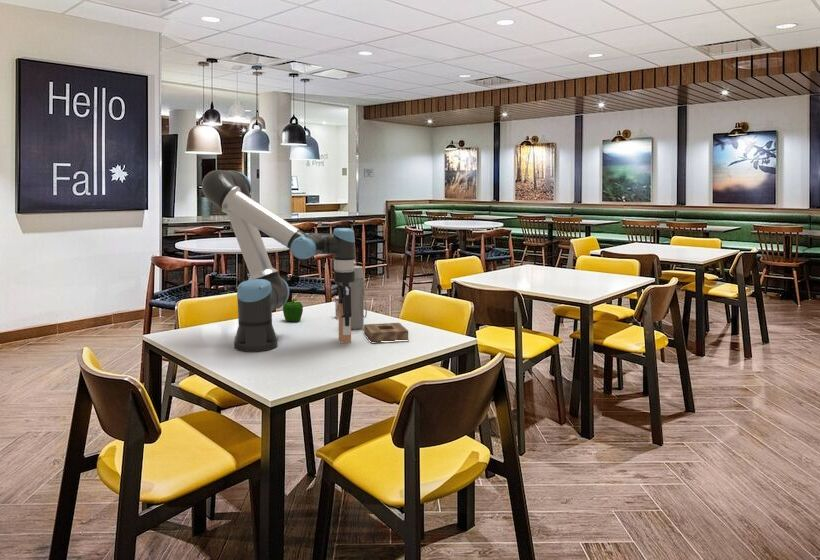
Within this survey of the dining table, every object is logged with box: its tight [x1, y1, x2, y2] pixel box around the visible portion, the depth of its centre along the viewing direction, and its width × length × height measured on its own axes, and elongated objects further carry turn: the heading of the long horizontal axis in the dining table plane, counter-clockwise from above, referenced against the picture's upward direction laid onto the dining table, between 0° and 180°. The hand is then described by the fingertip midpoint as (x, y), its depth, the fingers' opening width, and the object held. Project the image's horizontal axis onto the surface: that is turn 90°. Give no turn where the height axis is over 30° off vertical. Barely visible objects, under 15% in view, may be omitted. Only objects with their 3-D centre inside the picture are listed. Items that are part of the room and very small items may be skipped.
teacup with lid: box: [334, 295, 339, 320], centre depth 270 cm, size 12×9×12 cm
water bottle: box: [349, 265, 368, 330], centre depth 249 cm, size 9×8×25 cm
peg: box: [338, 304, 352, 343], centre depth 229 cm, size 4×4×14 cm
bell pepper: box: [282, 298, 304, 323], centre depth 263 cm, size 8×8×10 cm
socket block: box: [363, 322, 409, 343], centre depth 236 cm, size 14×14×4 cm
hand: (344, 331), depth 230 cm, fingers open, 8 cm apart
